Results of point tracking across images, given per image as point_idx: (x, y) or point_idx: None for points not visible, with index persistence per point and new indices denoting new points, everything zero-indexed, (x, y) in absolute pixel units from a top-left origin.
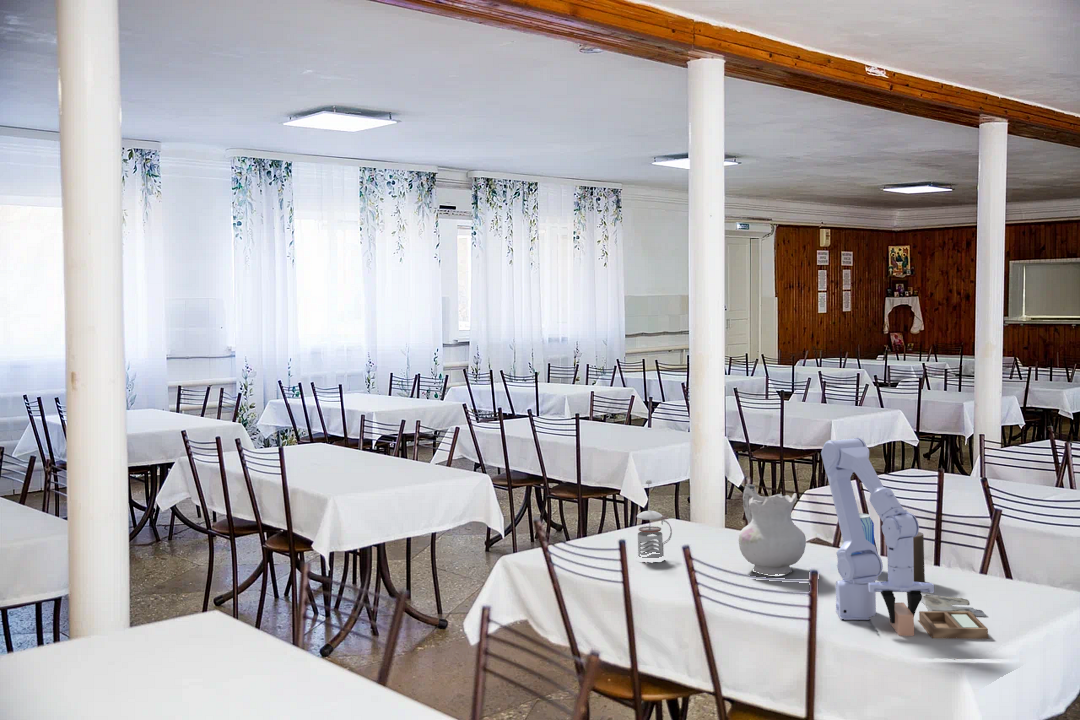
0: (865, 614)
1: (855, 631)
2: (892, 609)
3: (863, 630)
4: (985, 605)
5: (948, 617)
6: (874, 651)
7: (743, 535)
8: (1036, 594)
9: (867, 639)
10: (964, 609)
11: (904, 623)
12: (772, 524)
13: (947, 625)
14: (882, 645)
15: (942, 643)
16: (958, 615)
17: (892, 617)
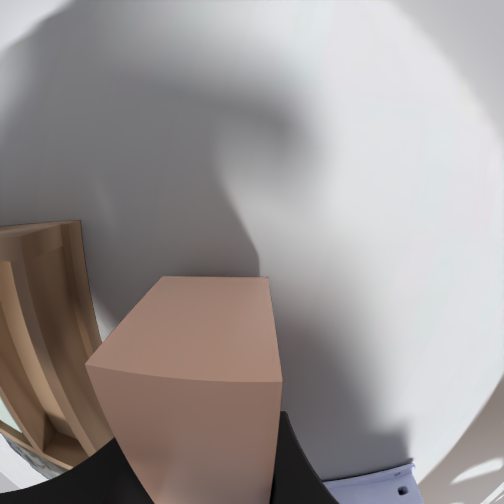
0: (337, 496)
1: (439, 373)
2: (297, 490)
3: (403, 392)
4: (33, 473)
5: (11, 405)
6: (442, 56)
7: None
8: (2, 467)
9: (445, 257)
10: (34, 463)
11: (212, 322)
12: None
13: (37, 396)
14: (401, 139)
15: (44, 194)
16: (2, 416)
17: (288, 438)
